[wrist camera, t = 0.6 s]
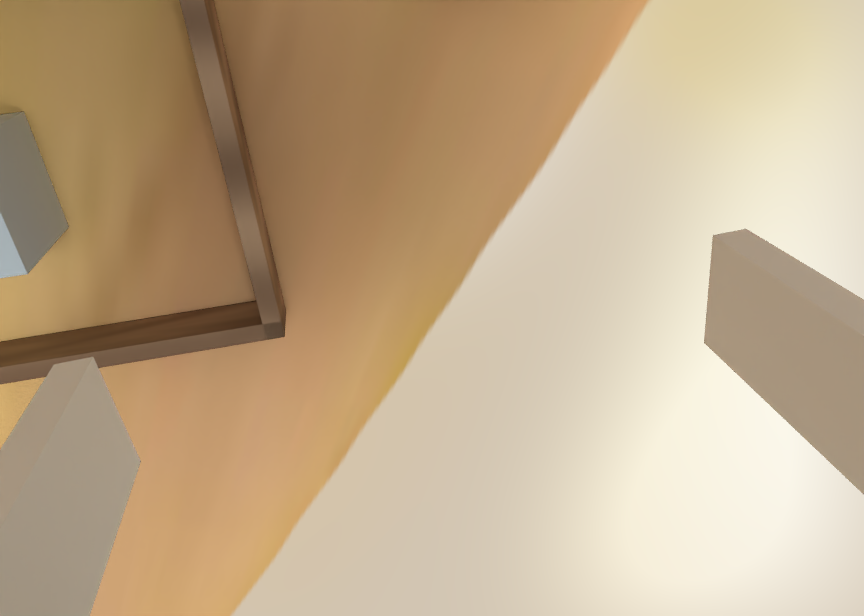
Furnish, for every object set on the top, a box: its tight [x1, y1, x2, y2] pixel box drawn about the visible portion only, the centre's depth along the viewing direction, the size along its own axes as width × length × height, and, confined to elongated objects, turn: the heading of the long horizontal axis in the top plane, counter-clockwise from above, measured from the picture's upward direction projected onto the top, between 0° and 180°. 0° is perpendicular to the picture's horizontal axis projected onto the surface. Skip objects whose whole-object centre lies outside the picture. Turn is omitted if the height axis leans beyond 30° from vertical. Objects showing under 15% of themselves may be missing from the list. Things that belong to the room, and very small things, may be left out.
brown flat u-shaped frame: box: [0, 0, 286, 384], centre depth 32 cm, size 20×21×3 cm
